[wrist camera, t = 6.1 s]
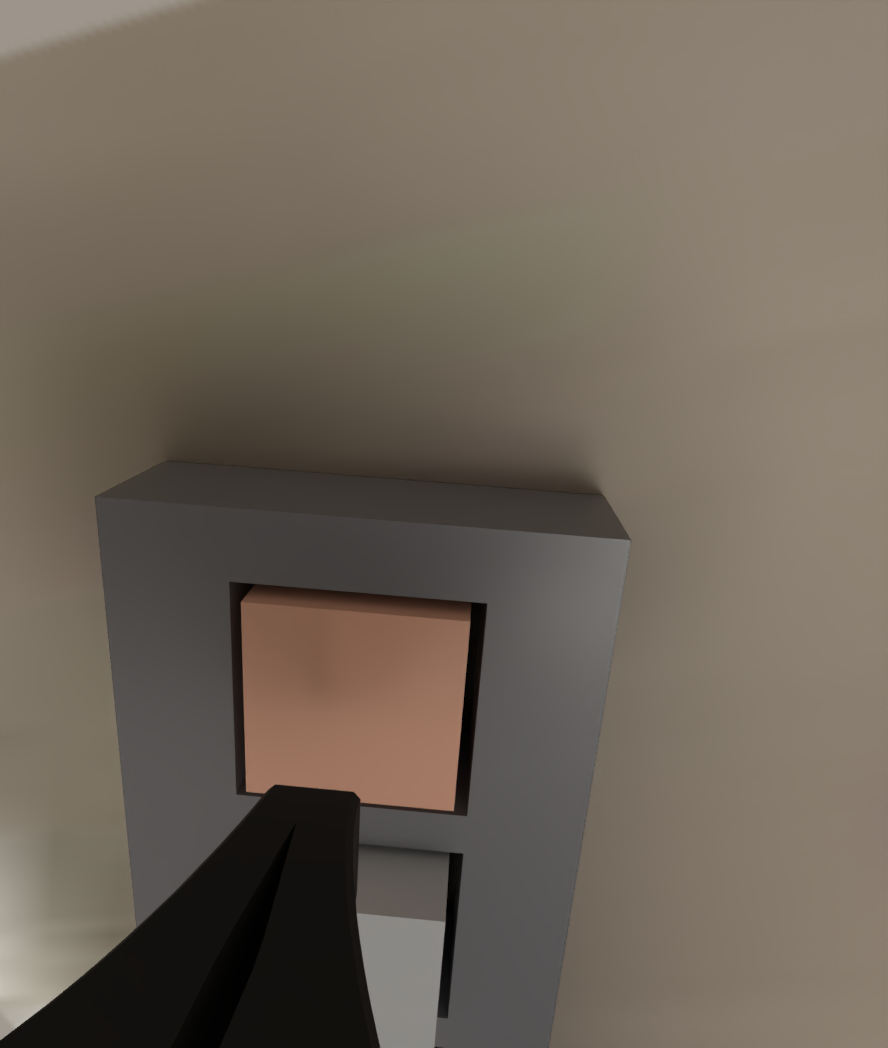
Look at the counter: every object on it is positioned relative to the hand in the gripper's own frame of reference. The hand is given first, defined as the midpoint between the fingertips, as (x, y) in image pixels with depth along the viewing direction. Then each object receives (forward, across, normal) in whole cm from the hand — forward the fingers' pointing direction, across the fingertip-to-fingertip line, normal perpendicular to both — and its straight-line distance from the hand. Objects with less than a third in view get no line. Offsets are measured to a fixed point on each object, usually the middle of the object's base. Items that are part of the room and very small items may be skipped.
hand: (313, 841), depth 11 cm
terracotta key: (+6, 0, 0) cm, 6 cm away
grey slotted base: (+7, 0, +6) cm, 9 cm away
